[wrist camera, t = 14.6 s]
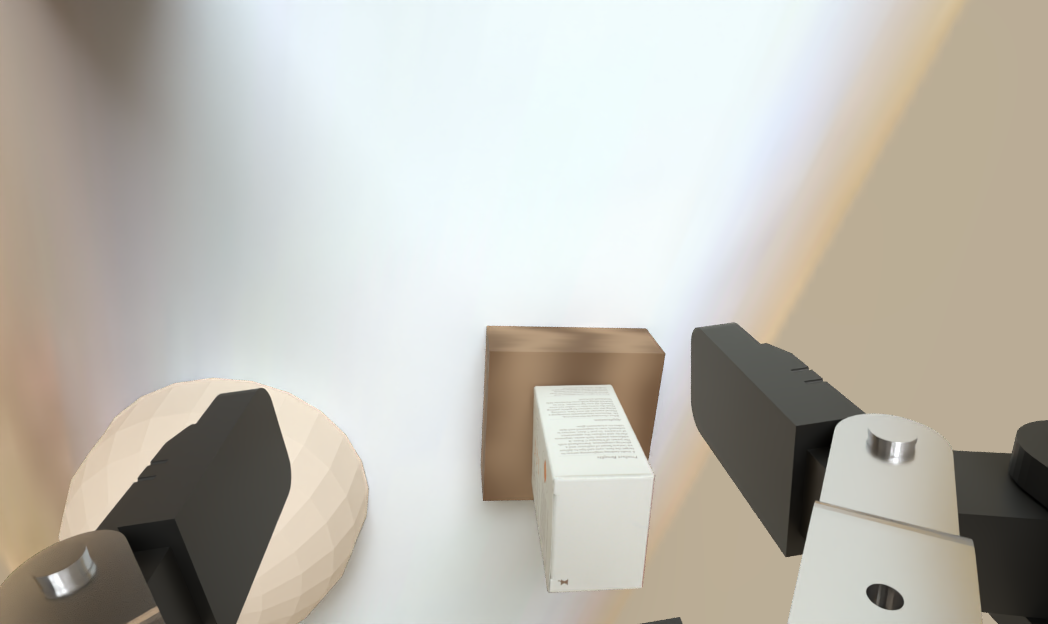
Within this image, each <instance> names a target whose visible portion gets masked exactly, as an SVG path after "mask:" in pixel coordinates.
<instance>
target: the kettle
mask: <svg viewBox="0 0 1048 624" xmlns="http://www.w3.org/2000/svg"><path fill="white" fill-rule="evenodd" d="M257 388H264V389H266V390H267V392H268V393H269V395H270V397H271V400H272V402H273V406H274V409H275V412H276V416H277V419H278V422H279V426H280V429H281V432H282V436H283V439H284V442H285V446H286V449H287V452H288V456H289V460H290V465H291V487H290V492H289V495H288V497H287V500H286V502H285V505H284V507H283V510H282V512H281V515H280V517H279V520H278V522H277V525H276V527H275V530H274V532H273V534H272V537H271V539H270V542H269V544H268V547H267V549H266V552H265V554H264V557H263V559H262V562H261V564H260V567H259V569H258V571H257V574H256V576H255V579H254V581H253V584H252V586H251V589H250V591H249V594H248V596H247V599H246V601H245V604H244V606H243V609H242V611H241V613H240V616H239V618H238V621H237V623H236V624H297V623H299V622H300V621H302V620H303V619H305V618H306V617H307V616H308V615H309V614H310V612H311V611H312V610H313V609H314V608H315V607H316V606H317V605H318V603H319V602H320V601H321V600H322V599H323V598H324V597H325V595H326V594H327V593H328V592H329V591H330V590H331V588H332V587H333V586H334V585H335V584H336V583H337V581H338V580H339V579H340V578H341V577H342V575H343V572H344V570H345V568H346V565H347V563H348V561H349V558H350V556H351V554H352V551H353V548H354V546H355V543H356V540H357V537H358V535H359V532H360V530H361V528H362V525H363V523H364V520H365V518H366V515H367V502H368V485H367V481H366V477H365V473H364V469H363V465H362V461H361V459H360V458H359V456H358V454H357V453H356V451H355V449H354V448H353V446H352V444H351V443H350V441H349V439H348V438H347V436H346V434H345V433H343V432H342V431H341V430H340V429H339V428H338V427H337V426H336V425H335V424H334V423H333V422H332V421H331V420H330V419H329V418H328V417H327V416H326V415H325V414H324V413H322V412H321V411H320V410H318V409H317V408H315V407H313V406H311V405H310V404H308V403H306V402H304V401H303V400H301V399H299V398H298V397H296V396H294V395H292V394H291V393H289V392H286V391H282V390H279V389H276V388H273V387H269V386H266V385H263V384H260V383H256V382H253V381H245V380H233V379H221V378H208V379H201V380H194V381H187V382H179V383H174V384H171V385H169V386H166V387H164V388H162V389H159V390H157V391H154V392H152V393H149V394H147V395H144V396H142V397H140V398H139V399H138V400H136V401H135V402H134V403H133V404H131V405H130V406H129V407H127V408H126V409H125V410H124V411H122V412H121V413H120V414H118V415H117V416H116V417H115V418H114V419H113V421H112V422H111V424H110V425H109V427H108V428H107V430H106V431H105V433H104V434H103V436H102V437H101V438H100V440H99V441H98V442H97V443H96V445H95V446H94V447H93V449H92V450H91V451H90V453H89V454H88V455H87V457H86V458H85V460H84V461H83V463H82V464H81V466H80V467H79V469H78V471H77V472H76V474H75V475H74V477H73V478H72V480H71V483H70V488H69V492H68V496H67V501H66V505H65V510H64V514H63V519H62V524H61V528H60V533H59V542H60V541H62V540H65V539H67V538H70V537H73V536H75V535H78V534H82V533H86V532H90V531H95V530H96V529H97V528H98V526H99V525H100V524H101V523H102V521H103V520H104V519H105V518H106V516H107V515H108V514H109V513H110V511H111V510H112V509H113V508H114V506H115V505H116V504H117V503H118V501H119V500H120V499H121V498H122V496H123V495H124V494H125V493H126V491H127V490H128V489H129V488H130V487H131V485H132V484H133V483H134V482H137V481H138V479H137V478H138V477H139V475H140V474H141V473H142V472H143V470H144V469H145V468H146V467H147V466H149V465H151V463H150V462H151V460H152V459H153V458H154V457H155V455H156V454H157V453H158V452H159V450H160V449H161V448H162V447H163V445H164V444H165V443H166V442H167V441H169V440H170V439H171V438H173V437H174V436H176V435H177V434H178V433H180V432H181V431H182V430H184V429H185V428H187V427H188V426H189V425H191V424H196V423H197V421H198V420H199V419H200V417H201V416H202V415H203V413H204V412H205V411H206V410H207V408H208V407H209V406H210V404H211V403H212V402H213V400H214V399H215V398H216V396H217V395H219V394H221V393H228V392H235V391H242V390H250V389H257Z"/></svg>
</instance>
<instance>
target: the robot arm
mask: <svg viewBox="0 0 1048 624" xmlns="http://www.w3.org/2000/svg"><path fill="white" fill-rule="evenodd" d="M691 406H692V412H693V417H694V420H695V423H696V426H697V428H698V430H699V432H700V434H701V435H702V437H703V438H704V440H705V441H706V443H707V444H708V445H709V447H710V448H711V450H712V451H713V453H714V454H715V456H716V457H717V458H718V460H719V461H720V463H721V464H722V466H723V467H724V468H725V470H726V471H727V473H728V474H729V476H730V477H731V479H732V480H733V482H734V483H735V484H736V486H737V487H738V489H739V490H740V492H741V493H742V495H743V496H744V497H745V499H746V500H747V502H748V503H749V505H750V506H751V508H752V509H753V511H754V512H755V513H756V515H757V516H758V518H759V519H760V521H761V522H762V523H763V525H764V526H765V528H766V529H767V531H768V532H769V534H770V535H771V537H772V538H773V539H774V541H775V542H776V544H777V545H778V547H779V548H780V550H781V551H782V552H783V554H784V555H785V557H790V556H796V555H801V554H803V556H802V560H801V565H800V570H799V574H798V578H797V583H796V587H795V592H794V596H793V601H792V605H791V610H790V614H789V619H788V623H787V624H983V622H982V613H981V612H986V613H989V614H990V615H991V617H992V618H993V619H994V620H995V621H996V622H997V623H998V624H1048V420H1045V421H1036V422H1031V423H1028V424H1025V425H1023V426H1022V427H1020V428H1019V430H1018V431H1017V434H1016V438H1015V442H1014V446H1013V451H1012V454H1009V453H988V452H969V451H953V450H952V448H951V446H950V444H949V442H948V441H947V440H946V439H945V438H944V437H943V436H941V435H940V434H939V433H938V432H936V431H934V430H933V429H931V428H929V427H927V426H925V425H923V424H921V423H918V422H915V421H913V420H909V419H906V418H902V417H898V416H893V415H886V414H866V413H864V412H863V411H862V410H861V409H859V408H858V407H857V406H856V405H854V404H853V403H852V402H851V401H850V400H848V399H847V398H846V397H845V396H843V395H842V394H841V393H840V392H839V391H837V390H836V389H835V388H834V387H832V386H831V385H830V384H829V383H827V382H823V379H822V378H821V377H820V376H819V375H818V374H816V373H815V372H814V371H813V370H809V368H808V366H806V365H805V364H804V363H803V362H802V361H800V360H799V359H798V358H797V357H795V356H794V355H793V354H792V353H790V352H787V351H785V350H782V349H779V348H777V347H775V346H772V345H770V344H767V343H764V344H760V343H759V342H758V341H756V340H755V339H754V338H753V337H752V336H751V335H750V334H748V333H747V332H746V331H745V330H744V329H743V328H741V327H740V326H739V325H738V324H737V323H727V324H720V325H713V326H705V327H698V328H695V329H694V330H693V333H692V338H691ZM150 463H151V465H149V466H147V467H146V468H145V469H144V470H143V472H142V473H141V474H140V475H139V477H138V478H137V479H138V481H137V482H134V483H133V484H132V485H131V487H130V488H129V489H128V490H127V491H126V493H125V494H124V495H123V496H122V498H121V499H120V500H119V501H118V503H117V504H116V505H115V506H114V508H113V509H112V510H111V511H110V513H109V514H108V515H107V516H106V518H105V519H104V520H103V521H102V523H101V524H100V525H99V526H98V528H97V529H96V530H95V531H90V532H86V533H82V534H78V535H75V536H73V537H70V538H67V539H65V540H62V541H60V542H58V543H56V544H54V545H52V546H50V547H48V548H46V549H44V550H42V551H41V552H39V553H37V554H36V555H34V556H33V557H31V558H30V559H28V560H27V561H25V562H24V563H23V564H22V565H20V566H19V567H18V568H17V569H16V570H14V571H13V572H12V573H11V574H10V575H9V576H8V577H7V579H6V580H5V581H4V582H3V583H2V585H1V586H0V624H236V623H237V621H238V618H239V616H240V613H241V611H242V609H243V606H244V604H245V601H246V599H247V596H248V594H249V591H250V589H251V586H252V584H253V581H254V579H255V576H256V574H257V571H258V569H259V567H260V564H261V562H262V559H263V557H264V554H265V552H266V549H267V547H268V544H269V542H270V539H271V537H272V534H273V532H274V530H275V527H276V525H277V522H278V520H279V517H280V515H281V512H282V510H283V507H284V505H285V502H286V500H287V497H288V495H289V492H290V487H291V465H290V460H289V456H288V452H287V449H286V446H285V442H284V439H283V436H282V432H281V429H280V426H279V422H278V419H277V416H276V412H275V409H274V406H273V402H272V400H271V397H270V395H269V393H268V392H267V390H266V389H264V388H257V389H250V390H242V391H235V392H228V393H221V394H219V395H217V396H216V398H215V399H214V400H213V402H212V403H211V404H210V406H209V407H208V408H207V410H206V411H205V412H204V413H203V415H202V416H201V417H200V419H199V420H198V421H197V423H196V424H191V425H189V426H188V427H187V428H185V429H184V430H182V431H181V432H180V433H178V434H177V435H176V436H174V437H173V438H171V439H170V440H169V441H167V442H166V443H165V444H164V445H163V447H162V448H161V449H160V450H159V452H158V453H157V454H156V455H155V457H154V458H153V459H152V460H151V462H150ZM642 624H682V621H681V619H680V617H678V618H672V619H666V620H660V621H654V622H648V623H642Z"/></svg>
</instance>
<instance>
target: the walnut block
mask: <svg viewBox="0 0 1048 624" xmlns="http://www.w3.org/2000/svg"><path fill="white" fill-rule="evenodd" d="M664 358H665V353H664V351H663V350H662V349H661V347H660V346H659V345H658V343H657V342H656V341H655V339H654V338H653V337H652V336H651V334H650V333H649V332H648V330H647V329H642V328H583V327H524V326H487V331H486V355H485V378H484V401H483V425H482V448H481V476H482V493H483V501H499V500H534V497H533V489H532V450H533V408H534V387H535V386H565V385H612V387H613V389H614V391H615V393H616V395H617V398H618V400H619V402H620V404H621V406H622V408H623V410H624V412H625V414H626V416H627V418H628V420H629V423H630V425H631V427H632V429H633V431H634V433H635V435H636V437H637V439H638V441H639V443H640V445H641V447H642V449H643V452H644V454H645V456H646V458H647V460H648V458H649V452H650V446H651V440H652V433H653V427H654V421H655V415H656V408H657V402H658V396H659V390H660V383H661V377H662V371H663V365H664Z"/></svg>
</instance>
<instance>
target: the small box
mask: <svg viewBox="0 0 1048 624" xmlns="http://www.w3.org/2000/svg"><path fill="white" fill-rule="evenodd" d="M654 480H655V475H654V472H653V470H652V468H651V466H650V464H649V462H648V460H647V458H646V456H645V454H644V452H643V449H642V447H641V445H640V443H639V441H638V439H637V437H636V435H635V433H634V431H633V429H632V427H631V425H630V423H629V420H628V418H627V416H626V414H625V412H624V410H623V408H622V406H621V404H620V402H619V400H618V398H617V395H616V393H615V391H614V389H613V387H612V385H565V386H535V387H534V408H533V450H532V489H533V497H534V504H535V511H536V518H537V525H538V531H539V538H540V544H541V550H542V556H543V563H544V570H545V577H546V584H547V591H548V592H549V593H556V592H579V591H599V590H620V589H634V588H642V587H643V578H644V570H645V560H646V551H647V541H648V533H649V523H650V514H651V505H652V497H653V488H654Z"/></svg>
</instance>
